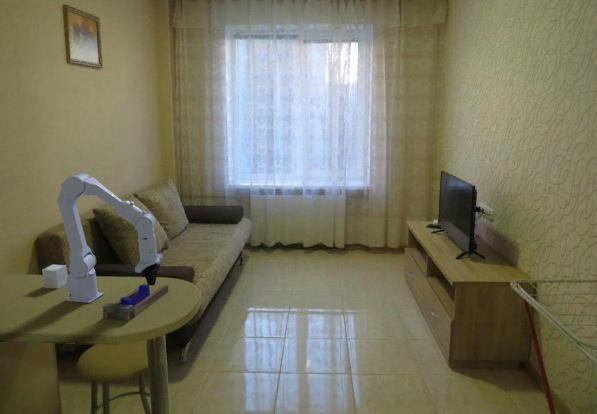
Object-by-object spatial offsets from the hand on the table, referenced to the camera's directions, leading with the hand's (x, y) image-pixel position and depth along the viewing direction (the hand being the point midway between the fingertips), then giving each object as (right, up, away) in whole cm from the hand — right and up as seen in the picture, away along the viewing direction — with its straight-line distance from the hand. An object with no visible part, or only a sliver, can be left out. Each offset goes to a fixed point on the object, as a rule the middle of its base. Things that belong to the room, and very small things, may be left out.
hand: (151, 284), depth 166 cm
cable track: (-2, -5, -8) cm, 10 cm away
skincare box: (-40, -2, +11) cm, 41 cm away
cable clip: (-2, -6, -11) cm, 13 cm away
